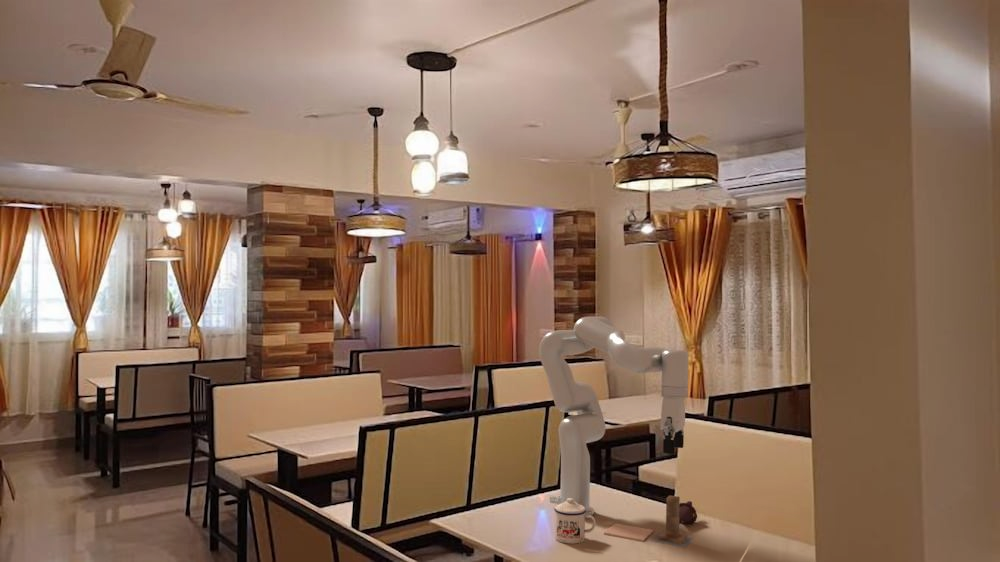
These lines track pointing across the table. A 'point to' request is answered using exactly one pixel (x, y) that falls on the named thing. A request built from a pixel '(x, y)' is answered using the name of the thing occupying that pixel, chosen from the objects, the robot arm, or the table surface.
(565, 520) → the teacup with lid
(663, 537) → the wooden post with base
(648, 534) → the tile
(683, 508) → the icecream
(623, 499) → the table surface
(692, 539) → the mat
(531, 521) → the table surface
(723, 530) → the table surface
